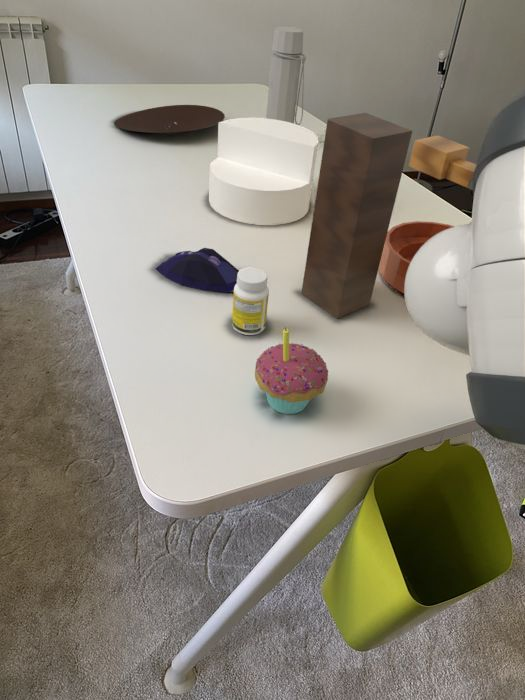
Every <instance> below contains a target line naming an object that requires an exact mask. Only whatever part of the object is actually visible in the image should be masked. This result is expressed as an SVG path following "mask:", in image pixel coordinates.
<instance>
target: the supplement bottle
mask: <svg viewBox="0 0 525 700" xmlns="http://www.w3.org/2000/svg"><path fill="white" fill-rule="evenodd" d="M238 270H239V272H238V274H237V284H236V285H235V287H234V291H233V294H232V295H233V297H232V298H233V299H232V317H231V325H232V328H233V330H235V331H236V332H237V333H239V334H242V335H246V336H255V335H259V334H261V333H262V332H264V330H265V328H266V325H267V314H268V304H269V296H270V290H269V289H270V288H269V286H268V274H267V272H266V270H263V269H262V268H259V267H255V266H246V267H243V268H241V269H238Z"/></svg>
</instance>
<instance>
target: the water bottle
mask: <svg viewBox="0 0 525 700" xmlns="http://www.w3.org/2000/svg"><path fill="white" fill-rule="evenodd" d="M272 40H273V41H272V46H271V53H272V54H271V56H270V57H271V58H270V69H269V79H268V80H269V81H268V94H267V105H266V115H265V118H267V119H275V120H281V121H286V122H290V123H293V124H297V125H300V126H301V124H302V121H303V116H304V90H305V89H304V88H305V87H304V86H305V84H304V83H305V82H304V81H305V62H306V59H307V56H306V55H305V54H303V52H304V51H303V49H304V29H302V28H299V27H291V26H275V29H274V33H273V39H272ZM301 64H302V65H301ZM301 85H302V89H301ZM301 91H302V92H301ZM300 93H302V94H301V117H300V121H299V123H298V122H297V114H298V107H299V101H300Z"/></svg>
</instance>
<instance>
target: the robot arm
mask: <svg viewBox="0 0 525 700" xmlns="http://www.w3.org/2000/svg"><path fill="white" fill-rule="evenodd" d="M475 164H476V168H475V171H474V173H473V175H472V177H471V179H470V182H469V184H468V188H467V189H469V190H471V191H472V194H473V203H472V209H471V210H472V211H471V221H470V222H469V223H467V224H466V223H465V224H460V225H456V226H455V227H452V228H448V229H446V230H444V231H441V232H440V233H438V234H436V235H434V236H433V237H432V238H430V239H429V240H428V241H427V242H426V243H425V244H424V245H423V246H421V248H420V249H419V250H418V251H417V253H416V254H415V255H414V257H413V259H412V260H411V263H410V265H409V267H408V270H407V273H406V277H405V283H404V293H403V294H404V295H403V296H404V302H405V305H406V309H407V312H408V314H409V316H410V318H411V320H412V321H413V322H414V324H415V326H416V327H417V328H418V329H419V330H420V331H421V332H422V333H423V334H424V335H425V336H427V337H428V338H429V339H431V340H433V341H435V342H436V343H437V344H439V345H441V346H442V347H446V348H447V349H450V350H451V351H454V352H457V353H459V354H461V355H462V354H463V355H465V356H469V360H470V361H469V362H470V368H471V371H469V372H468V373H465V378H466V379H465V380H466V387H467V393H468V398H469V402H470V406H471V411H472V414H473V417H474V419H475V422H476V424H477V425H478V426H479V427H481V428H482V429H483V430H484V431H485V432H486V433H487V434H488V435H490V437H493V438H495V439H497V440H501V441H503V442H507V443H509V444H510V445H512V446H514V447H517V448H518V449H520V450H522V451H525V90H523V91H521V92H520V93H518V94H517V95H516V96H515V97H513V99H511V101H509V102H508V103H507V104H506V105H505V106H503V108H502V109H501V110H500V111H499V112H498V113H497V114H496V115H495V116H494V118H492V120H491V122H490V124H489V125H488V129H487V131H486V133H485V136H484V139H483V142H482V145H481V147H480V151H479V154H478V157H477V160H476V163H475Z"/></svg>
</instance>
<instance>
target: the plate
mask: <svg viewBox="0 0 525 700" xmlns="http://www.w3.org/2000/svg"><path fill="white" fill-rule="evenodd" d="M225 118H226V116H225V113H224V112H223V111H222V110H220V109H218V108H214V107H212V106H206V105H199V104H173V105H163V106H157V107H151V108H147V109H143V110H137V111H135V112H131V113H128V114H126V115H123V116H121V117H119V118H117V119H115V121H114V122H113V126H115V127H116V128H119V129H121V130H125V131H130V132H139V133H140V132H141V133H154V134H155V133H156V134H167V135H168V134H170V135H171V134H173V135H175V134H184V133H190V132H194V131H198V130H203V129H207V128H210V127H214V126H216V125H218V124H219V122H222V121H225Z"/></svg>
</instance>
